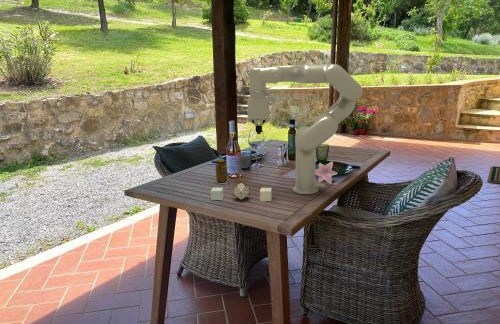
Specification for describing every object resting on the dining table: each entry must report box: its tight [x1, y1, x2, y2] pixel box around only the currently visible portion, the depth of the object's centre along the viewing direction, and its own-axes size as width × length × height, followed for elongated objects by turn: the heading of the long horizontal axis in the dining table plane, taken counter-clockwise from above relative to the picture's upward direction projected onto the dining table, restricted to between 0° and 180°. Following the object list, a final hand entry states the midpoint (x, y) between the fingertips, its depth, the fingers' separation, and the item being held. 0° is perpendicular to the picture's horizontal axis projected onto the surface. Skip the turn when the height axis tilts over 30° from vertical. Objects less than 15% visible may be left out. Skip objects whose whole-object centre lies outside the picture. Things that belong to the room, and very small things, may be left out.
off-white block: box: [259, 187, 273, 202], centre depth 183 cm, size 5×5×5 cm
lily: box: [315, 161, 338, 185], centre depth 206 cm, size 12×12×10 cm
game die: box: [232, 181, 251, 202], centre depth 184 cm, size 9×8×10 cm
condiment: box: [215, 159, 229, 184], centre depth 209 cm, size 7×8×12 cm
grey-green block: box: [210, 187, 225, 201], centre depth 185 cm, size 5×5×5 cm
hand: (259, 133), depth 187 cm, fingers closed
